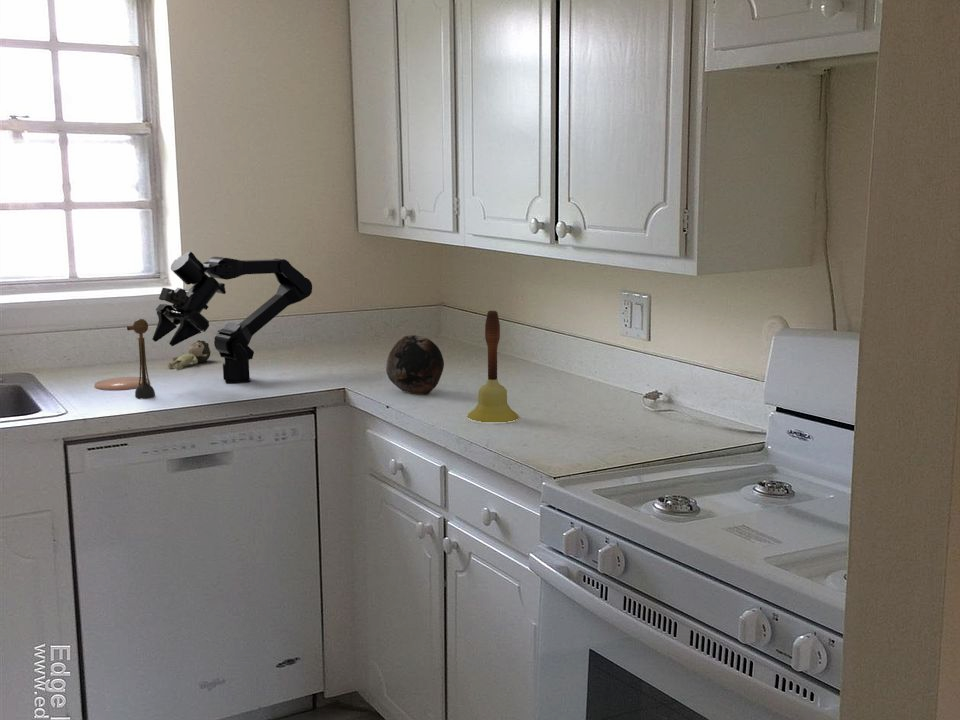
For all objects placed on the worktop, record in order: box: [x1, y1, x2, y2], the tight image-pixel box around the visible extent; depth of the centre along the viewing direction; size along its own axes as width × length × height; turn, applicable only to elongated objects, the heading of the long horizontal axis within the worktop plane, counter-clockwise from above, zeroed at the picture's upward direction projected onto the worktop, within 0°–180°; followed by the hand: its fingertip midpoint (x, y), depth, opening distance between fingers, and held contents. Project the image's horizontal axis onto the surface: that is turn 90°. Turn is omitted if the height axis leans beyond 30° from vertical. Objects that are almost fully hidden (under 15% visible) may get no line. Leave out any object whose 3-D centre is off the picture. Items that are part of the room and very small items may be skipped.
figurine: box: [167, 339, 211, 370], centre depth 303 cm, size 8×6×15 cm
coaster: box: [94, 376, 150, 391], centre depth 277 cm, size 14×14×1 cm
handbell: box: [466, 310, 520, 422], centre depth 237 cm, size 12×12×25 cm
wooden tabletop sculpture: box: [126, 318, 156, 399], centre depth 261 cm, size 6×5×20 cm
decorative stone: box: [385, 334, 445, 395], centre depth 265 cm, size 18×9×15 cm, turn 53°
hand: (162, 342), depth 264 cm, fingers open, 9 cm apart
